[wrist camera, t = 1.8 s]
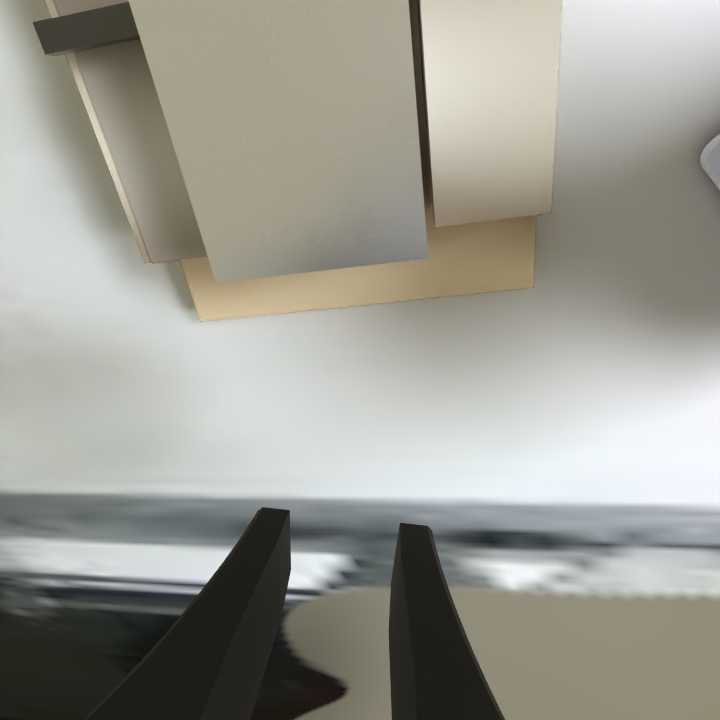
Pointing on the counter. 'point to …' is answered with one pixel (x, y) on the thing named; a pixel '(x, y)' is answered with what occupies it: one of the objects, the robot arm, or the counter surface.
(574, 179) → the counter surface
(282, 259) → the grey box
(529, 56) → the stand
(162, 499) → the counter surface
